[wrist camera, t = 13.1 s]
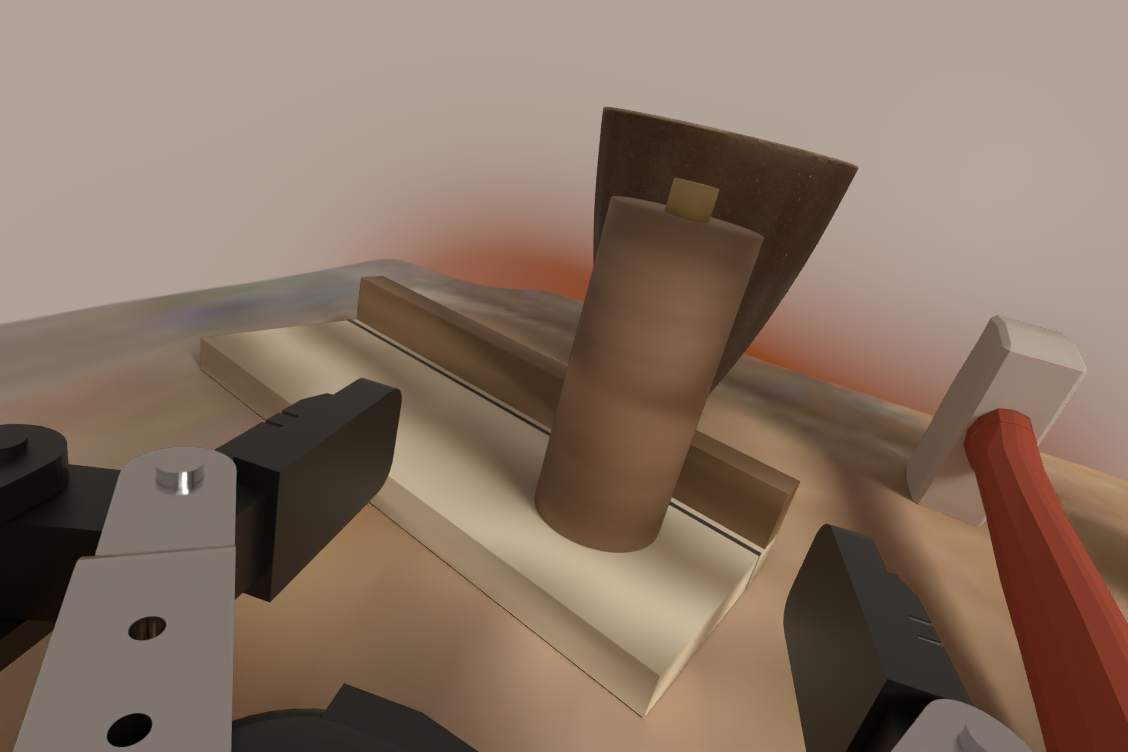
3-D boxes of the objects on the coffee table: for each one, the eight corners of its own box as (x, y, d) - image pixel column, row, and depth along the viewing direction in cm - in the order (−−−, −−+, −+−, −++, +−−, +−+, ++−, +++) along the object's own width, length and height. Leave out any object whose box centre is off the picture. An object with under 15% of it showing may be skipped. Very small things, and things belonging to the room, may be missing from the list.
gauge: (572, 416, 30) (640, 162, 26) (668, 446, 29) (754, 192, 25) (519, 524, 21) (610, 163, 17) (655, 570, 21) (785, 210, 16)
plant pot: (751, 466, 33) (871, 161, 28) (507, 375, 37) (567, 90, 31) (767, 386, 47) (850, 169, 41) (586, 325, 51) (639, 119, 45)
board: (374, 341, 37) (382, 276, 36) (763, 566, 25) (800, 481, 23) (200, 368, 29) (201, 286, 28) (643, 718, 17) (687, 603, 16)
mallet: (1770, 1214, 7) (1066, 328, 32) (1378, 1020, 8) (992, 307, 33) (1166, 1310, 12) (966, 486, 37) (975, 1187, 13) (904, 464, 38)
